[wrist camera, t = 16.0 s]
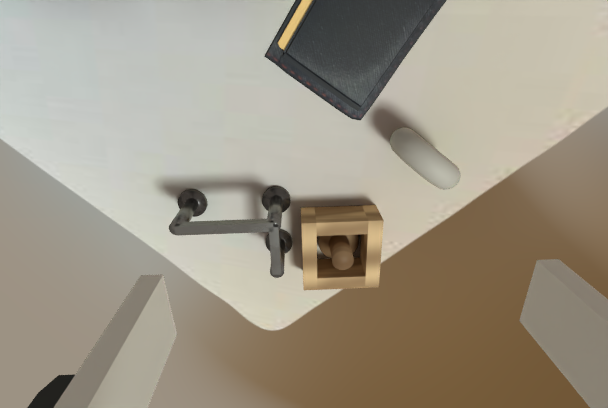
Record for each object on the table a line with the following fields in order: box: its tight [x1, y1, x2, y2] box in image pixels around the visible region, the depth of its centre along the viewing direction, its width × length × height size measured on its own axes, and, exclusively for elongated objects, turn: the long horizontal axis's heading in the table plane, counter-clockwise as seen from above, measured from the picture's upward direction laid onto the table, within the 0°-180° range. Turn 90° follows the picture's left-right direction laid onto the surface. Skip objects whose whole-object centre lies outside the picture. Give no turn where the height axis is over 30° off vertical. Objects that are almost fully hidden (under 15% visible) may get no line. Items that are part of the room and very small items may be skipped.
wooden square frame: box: [301, 205, 383, 290], centre depth 52 cm, size 11×11×5 cm
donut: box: [390, 127, 460, 189], centre depth 44 cm, size 10×4×10 cm, turn 53°
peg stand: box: [319, 235, 359, 270], centre depth 51 cm, size 6×6×6 cm
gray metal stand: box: [169, 186, 292, 278], centre depth 48 cm, size 11×16×9 cm
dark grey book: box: [265, 0, 446, 120], centre depth 41 cm, size 20×2×15 cm
